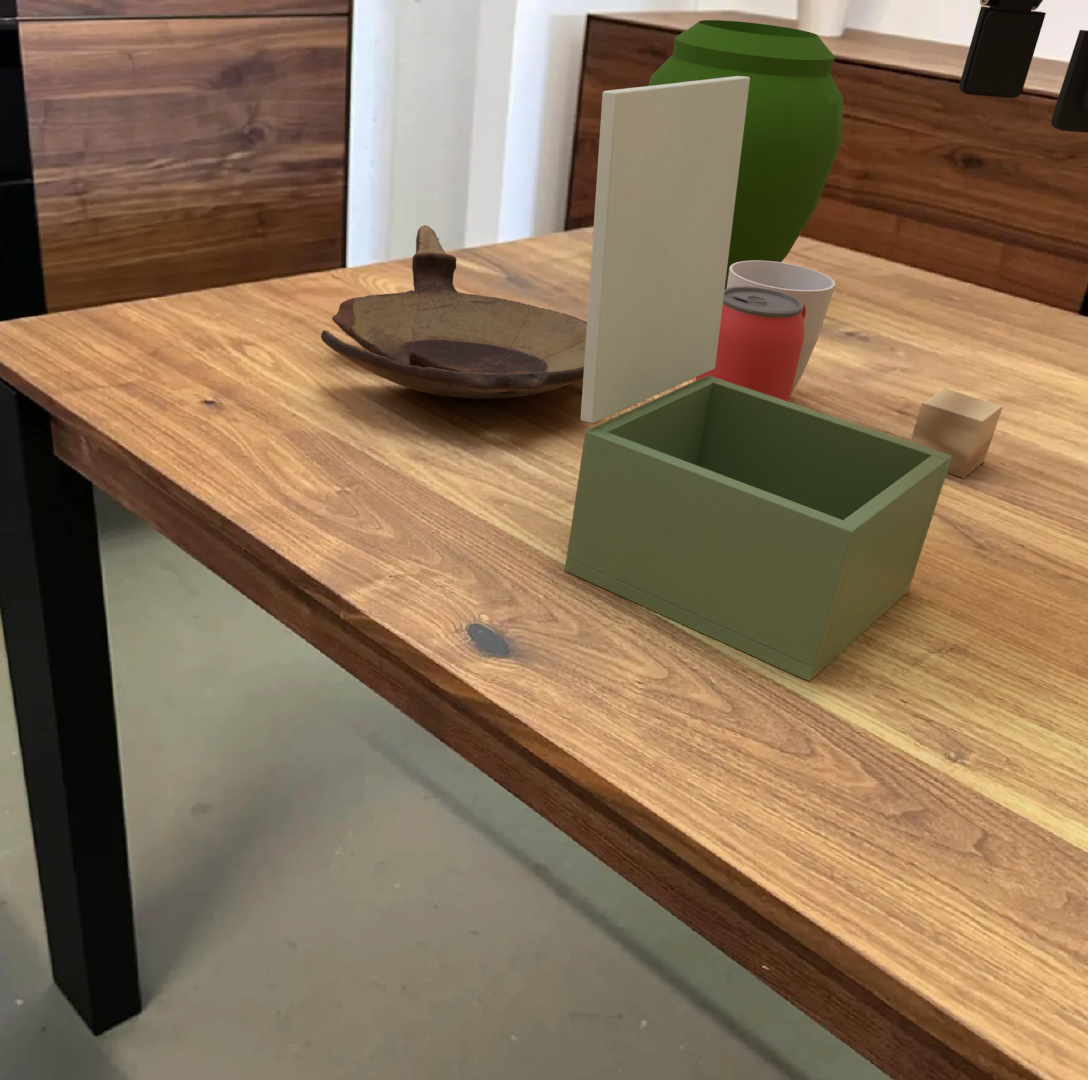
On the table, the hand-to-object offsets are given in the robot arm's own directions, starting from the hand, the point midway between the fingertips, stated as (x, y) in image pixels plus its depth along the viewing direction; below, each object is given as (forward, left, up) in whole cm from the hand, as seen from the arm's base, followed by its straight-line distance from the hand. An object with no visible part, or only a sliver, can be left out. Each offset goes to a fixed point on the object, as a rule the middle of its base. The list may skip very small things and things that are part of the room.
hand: (1033, 111), depth 59 cm
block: (+5, -23, -27) cm, 36 cm away
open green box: (+7, +6, -27) cm, 28 cm away
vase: (+39, -47, -27) cm, 67 cm away
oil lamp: (+39, -8, -27) cm, 48 cm away
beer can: (+16, -9, -27) cm, 33 cm away
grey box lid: (+15, +6, -9) cm, 19 cm away
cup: (+21, -23, -27) cm, 41 cm away
